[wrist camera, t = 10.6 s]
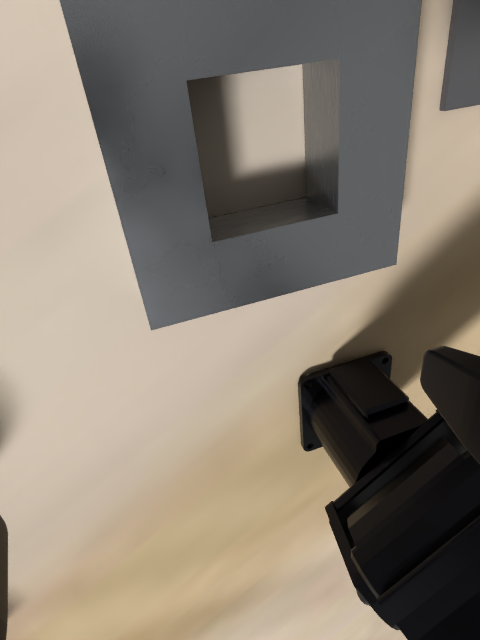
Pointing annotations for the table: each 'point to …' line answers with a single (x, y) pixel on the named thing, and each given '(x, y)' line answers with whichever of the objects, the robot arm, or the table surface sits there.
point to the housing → (182, 155)
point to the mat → (462, 57)
